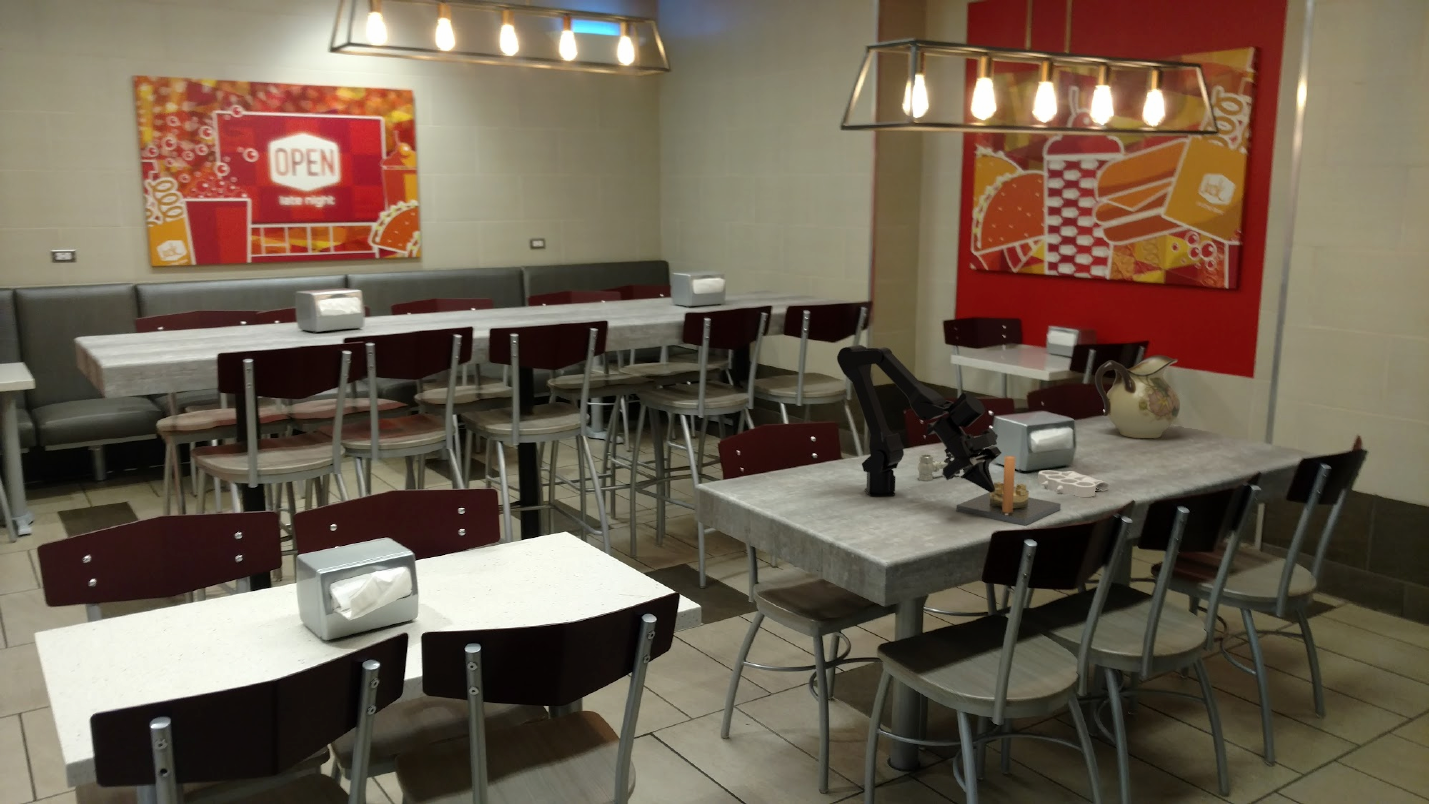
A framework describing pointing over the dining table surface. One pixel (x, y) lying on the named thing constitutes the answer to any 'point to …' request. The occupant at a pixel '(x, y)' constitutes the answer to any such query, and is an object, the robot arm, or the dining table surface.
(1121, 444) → the dining table surface
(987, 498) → the steel plate
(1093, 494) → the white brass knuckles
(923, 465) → the valve
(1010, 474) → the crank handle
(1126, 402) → the pitcher
